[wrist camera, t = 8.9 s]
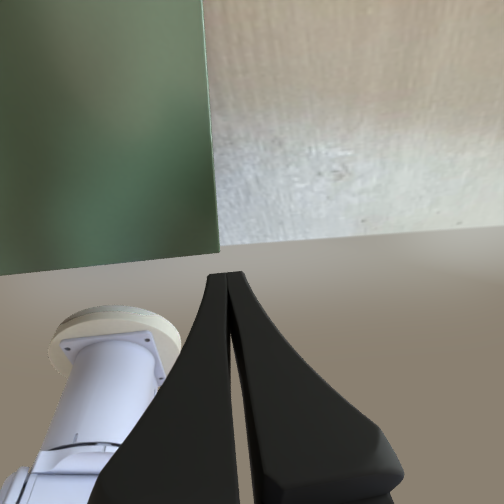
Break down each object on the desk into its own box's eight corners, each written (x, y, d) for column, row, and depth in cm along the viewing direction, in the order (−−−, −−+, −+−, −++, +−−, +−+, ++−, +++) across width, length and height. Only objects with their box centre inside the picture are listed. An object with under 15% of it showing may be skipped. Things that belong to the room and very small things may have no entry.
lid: (-93, 275, 13) (-107, 287, 12) (-587, -223, 5) (-690, -258, 5) (218, 244, 15) (220, 253, 15) (191, -133, 8) (192, -148, 7)
